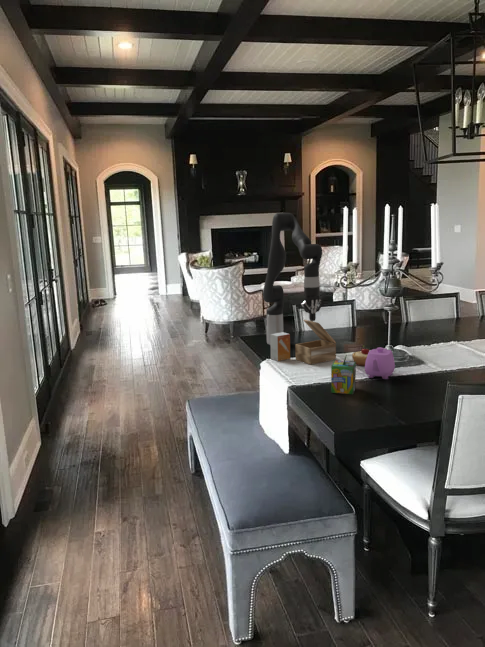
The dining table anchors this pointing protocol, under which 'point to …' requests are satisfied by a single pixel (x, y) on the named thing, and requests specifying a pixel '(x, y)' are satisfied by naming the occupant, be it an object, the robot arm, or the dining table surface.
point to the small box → (280, 346)
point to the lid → (319, 331)
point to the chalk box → (343, 376)
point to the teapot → (379, 363)
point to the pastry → (360, 356)
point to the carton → (315, 352)
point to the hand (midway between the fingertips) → (312, 320)
